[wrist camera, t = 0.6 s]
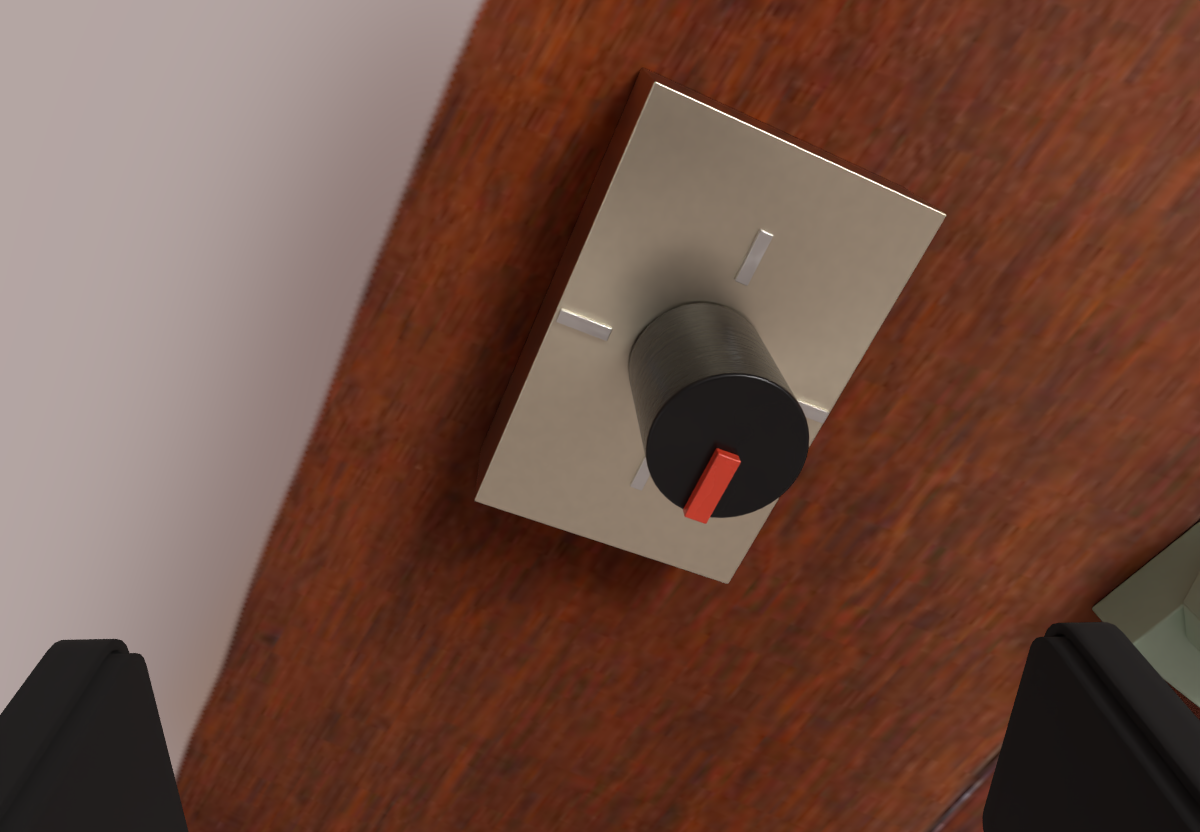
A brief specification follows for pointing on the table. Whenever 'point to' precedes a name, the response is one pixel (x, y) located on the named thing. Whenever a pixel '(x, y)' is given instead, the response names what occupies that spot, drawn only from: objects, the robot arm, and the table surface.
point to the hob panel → (690, 276)
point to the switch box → (1164, 613)
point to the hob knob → (715, 413)
